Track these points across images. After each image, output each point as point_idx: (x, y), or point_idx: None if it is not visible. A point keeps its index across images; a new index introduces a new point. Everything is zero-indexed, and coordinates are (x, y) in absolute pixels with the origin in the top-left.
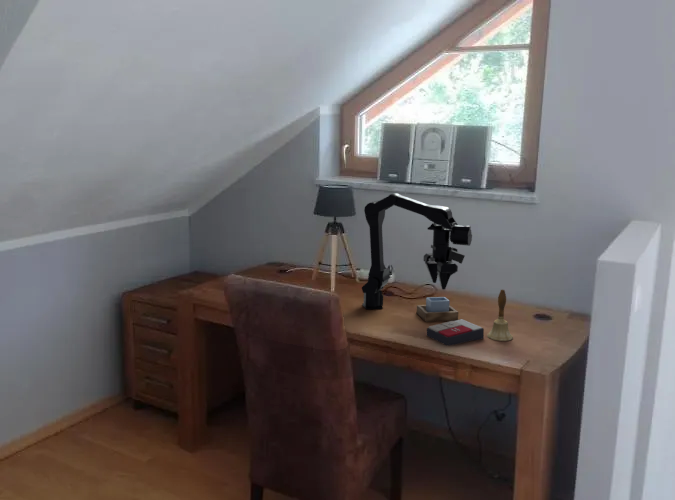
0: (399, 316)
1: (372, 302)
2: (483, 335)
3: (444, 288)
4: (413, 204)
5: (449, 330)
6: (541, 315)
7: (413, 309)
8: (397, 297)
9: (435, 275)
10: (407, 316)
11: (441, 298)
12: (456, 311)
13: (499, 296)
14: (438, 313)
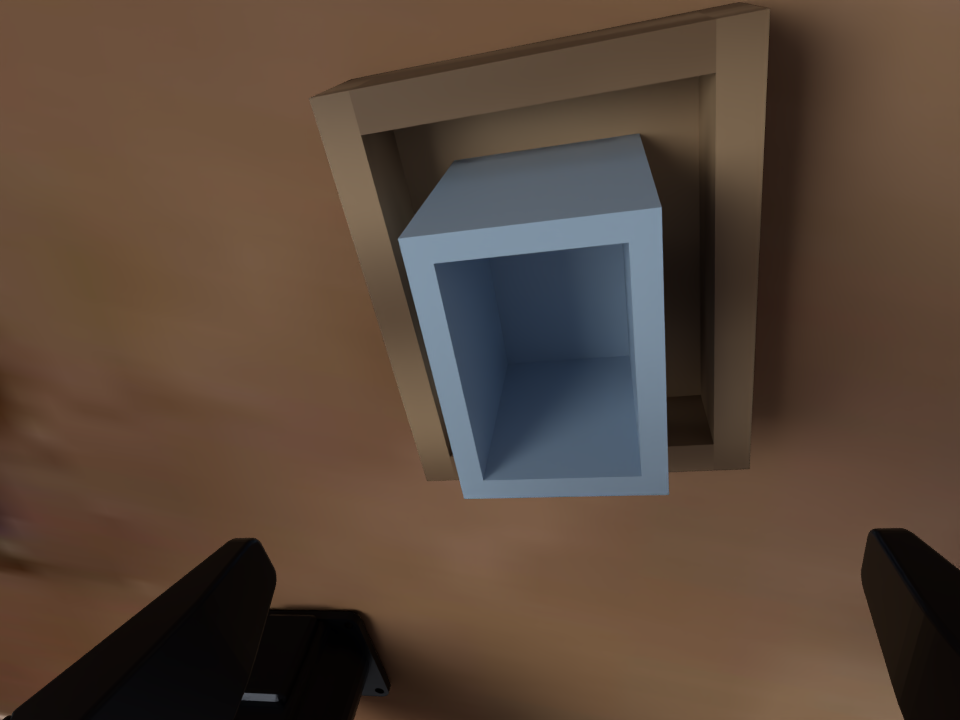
0: (544, 558)
1: (356, 707)
2: None
3: (916, 563)
4: None
5: None
6: None
7: (326, 423)
8: (7, 465)
9: (160, 715)
10: (545, 509)
11: (445, 293)
12: (737, 42)
13: None
14: (751, 330)
